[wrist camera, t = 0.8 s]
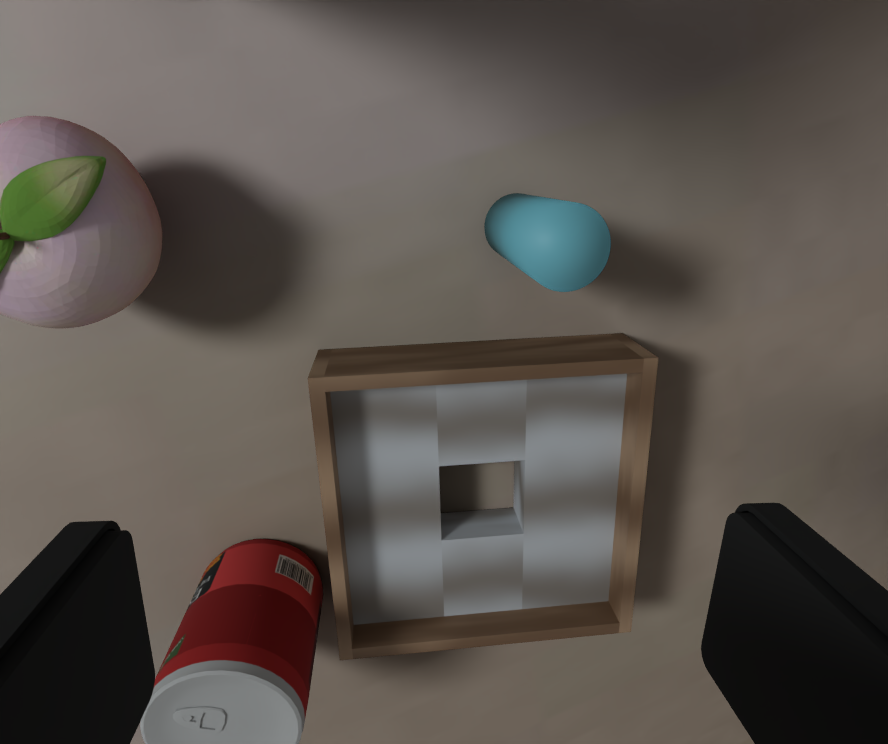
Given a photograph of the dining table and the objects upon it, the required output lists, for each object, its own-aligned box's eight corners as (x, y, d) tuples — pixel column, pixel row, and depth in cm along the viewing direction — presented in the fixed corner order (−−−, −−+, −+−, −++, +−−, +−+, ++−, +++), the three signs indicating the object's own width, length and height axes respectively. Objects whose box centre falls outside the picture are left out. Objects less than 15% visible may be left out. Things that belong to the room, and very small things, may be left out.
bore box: (318, 349, 34) (307, 378, 29) (622, 333, 36) (658, 357, 31) (345, 603, 40) (340, 660, 36) (603, 580, 42) (630, 631, 37)
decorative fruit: (122, 334, 33) (17, 400, 23) (-12, 230, 30) (-190, 256, 21) (230, 215, 31) (162, 234, 22) (97, 94, 29) (-43, 57, 19)
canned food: (199, 535, 37) (128, 673, 27) (324, 533, 38) (301, 667, 28) (209, 629, 40) (147, 789, 30) (325, 625, 41) (305, 779, 30)
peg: (484, 194, 32) (525, 203, 23) (547, 192, 32) (613, 200, 23) (484, 259, 33) (523, 293, 24) (545, 256, 34) (607, 289, 24)
